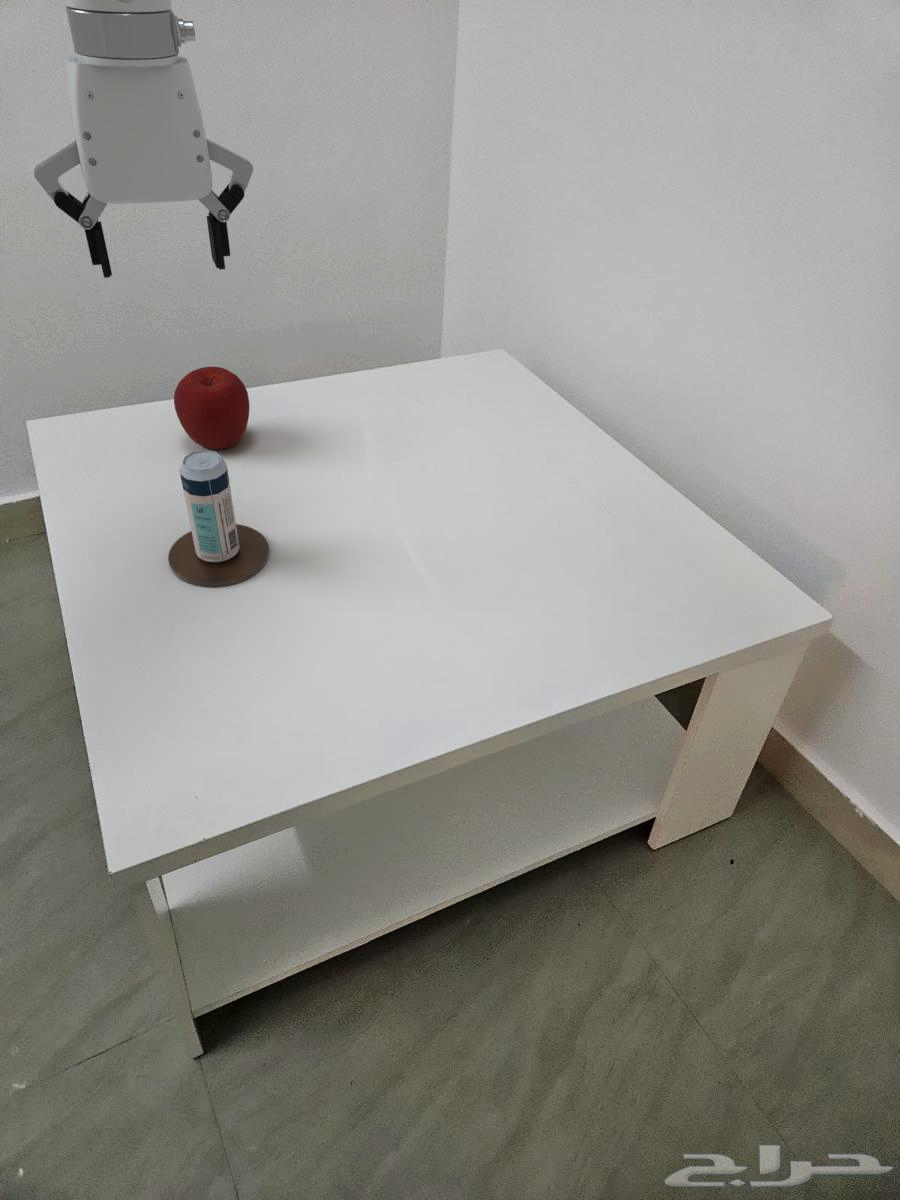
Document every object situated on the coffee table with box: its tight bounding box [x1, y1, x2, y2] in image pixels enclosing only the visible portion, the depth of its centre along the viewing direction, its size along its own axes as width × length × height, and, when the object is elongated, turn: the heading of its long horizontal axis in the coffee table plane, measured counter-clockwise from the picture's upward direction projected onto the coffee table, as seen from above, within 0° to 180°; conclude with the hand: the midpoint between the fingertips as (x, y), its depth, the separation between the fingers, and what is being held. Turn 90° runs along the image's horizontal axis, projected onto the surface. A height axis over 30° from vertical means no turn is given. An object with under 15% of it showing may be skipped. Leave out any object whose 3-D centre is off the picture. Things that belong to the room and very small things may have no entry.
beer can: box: [179, 449, 239, 562], centre depth 88 cm, size 5×5×12 cm
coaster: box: [167, 523, 270, 588], centre depth 92 cm, size 11×11×1 cm
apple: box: [173, 366, 250, 450], centre depth 107 cm, size 10×10×10 cm
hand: (164, 268), depth 73 cm, fingers open, 9 cm apart
